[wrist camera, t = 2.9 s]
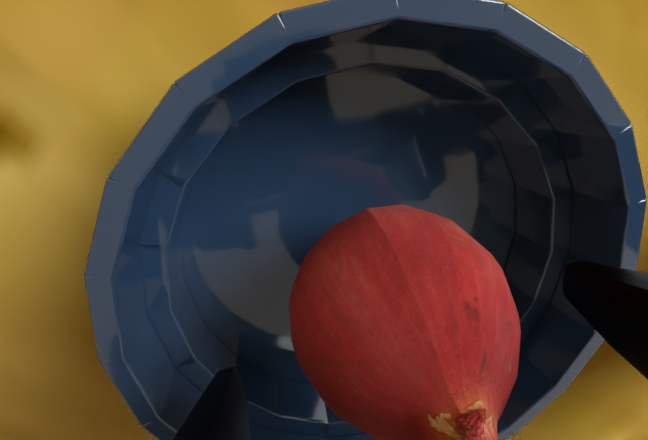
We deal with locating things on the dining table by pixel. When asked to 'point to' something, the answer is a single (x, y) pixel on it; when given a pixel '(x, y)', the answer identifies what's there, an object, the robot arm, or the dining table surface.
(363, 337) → the onion
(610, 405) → the dining table surface
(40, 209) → the dining table surface
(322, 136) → the bowl
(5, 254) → the dining table surface
